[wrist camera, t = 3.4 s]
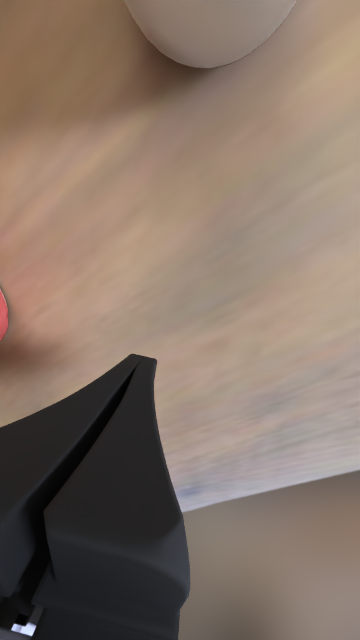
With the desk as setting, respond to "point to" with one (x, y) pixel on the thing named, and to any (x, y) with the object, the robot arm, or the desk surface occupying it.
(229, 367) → the desk surface
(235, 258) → the desk surface
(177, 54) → the plastic bottle
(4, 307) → the flower pot
